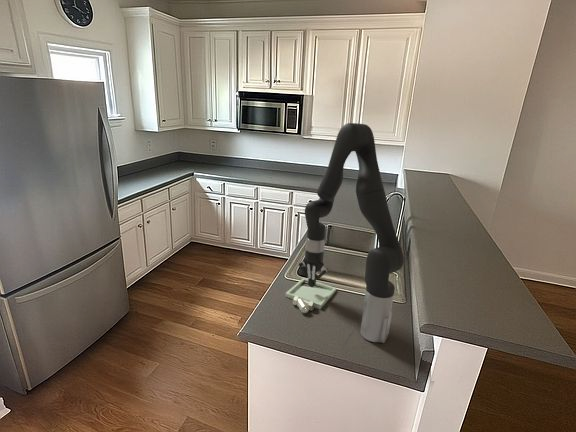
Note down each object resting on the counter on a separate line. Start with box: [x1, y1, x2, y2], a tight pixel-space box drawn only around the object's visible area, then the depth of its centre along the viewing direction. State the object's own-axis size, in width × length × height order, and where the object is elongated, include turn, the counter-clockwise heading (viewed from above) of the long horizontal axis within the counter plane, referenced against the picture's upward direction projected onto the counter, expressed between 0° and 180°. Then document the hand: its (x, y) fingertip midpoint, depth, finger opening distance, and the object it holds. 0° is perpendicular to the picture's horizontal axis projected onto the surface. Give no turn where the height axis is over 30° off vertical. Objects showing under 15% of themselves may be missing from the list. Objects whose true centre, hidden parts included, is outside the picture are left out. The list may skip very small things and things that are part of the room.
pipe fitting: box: [292, 296, 315, 314], centre depth 131 cm, size 8×4×7 cm
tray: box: [285, 277, 337, 310], centre depth 142 cm, size 16×16×2 cm
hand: (311, 286), depth 141 cm, fingers closed
